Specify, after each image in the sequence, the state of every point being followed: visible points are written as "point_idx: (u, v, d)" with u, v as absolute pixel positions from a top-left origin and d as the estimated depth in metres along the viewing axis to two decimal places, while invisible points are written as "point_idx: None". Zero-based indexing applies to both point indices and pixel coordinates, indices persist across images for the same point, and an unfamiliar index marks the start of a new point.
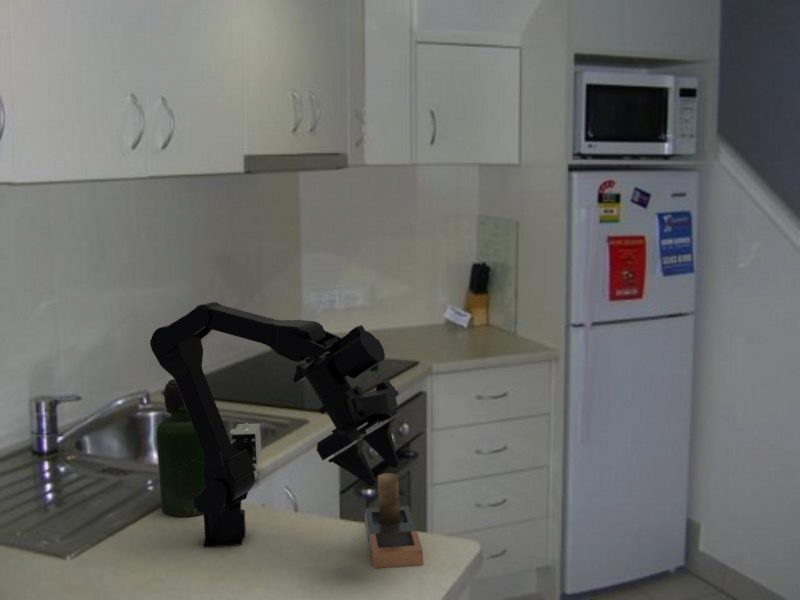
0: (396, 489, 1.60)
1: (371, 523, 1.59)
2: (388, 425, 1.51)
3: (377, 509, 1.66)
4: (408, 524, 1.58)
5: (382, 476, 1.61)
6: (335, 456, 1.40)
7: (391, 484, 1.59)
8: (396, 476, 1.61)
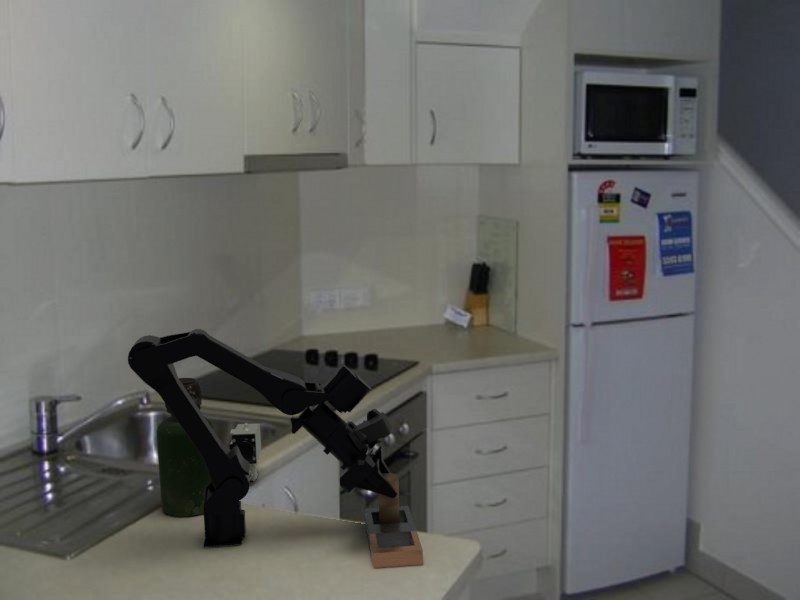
0: (396, 489, 1.60)
1: (371, 523, 1.59)
2: (380, 453, 1.63)
3: (377, 509, 1.66)
4: (408, 524, 1.58)
5: None
6: (360, 480, 1.55)
7: (391, 484, 1.59)
8: (396, 476, 1.61)
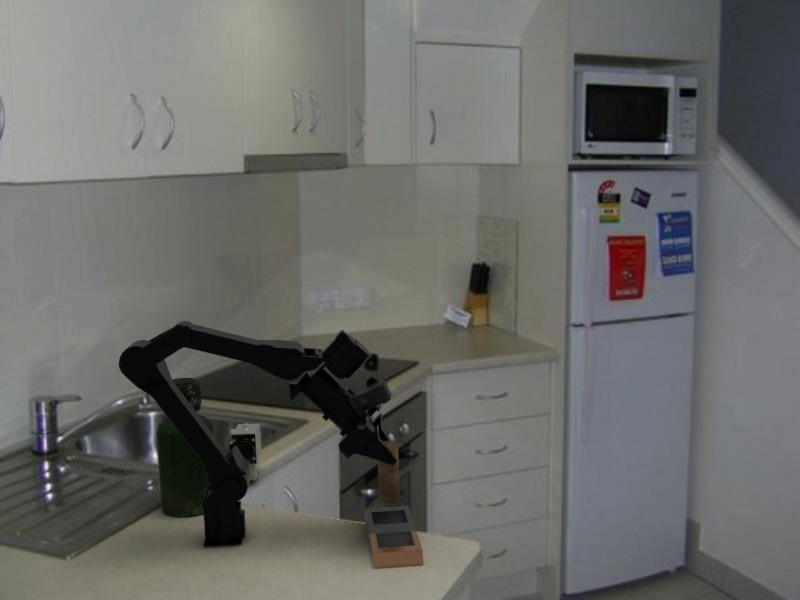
0: (396, 456, 1.58)
1: (371, 523, 1.59)
2: (380, 420, 1.60)
3: (377, 509, 1.66)
4: (408, 524, 1.58)
5: None
6: (359, 446, 1.53)
7: (391, 450, 1.57)
8: (395, 443, 1.58)
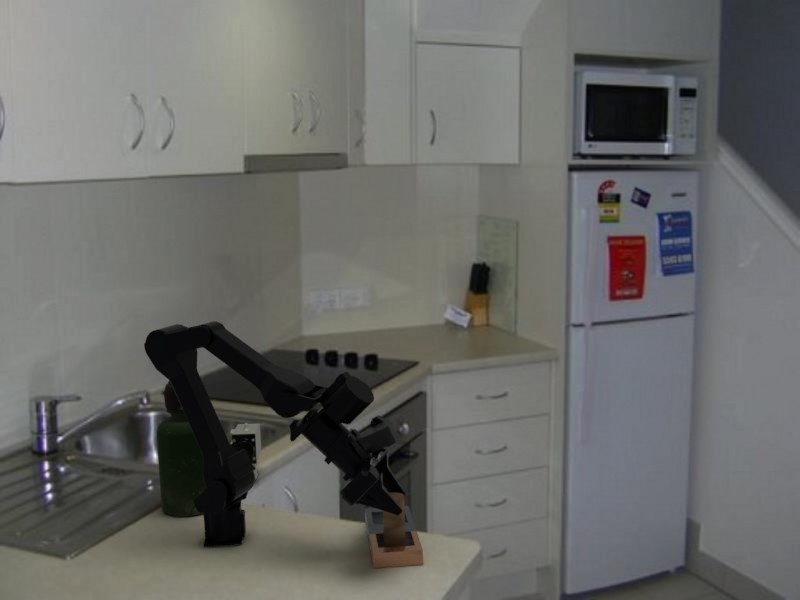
0: (402, 510, 1.50)
1: (371, 523, 1.59)
2: (386, 459, 1.54)
3: (377, 509, 1.66)
4: (408, 524, 1.58)
5: None
6: (362, 496, 1.44)
7: None
8: (401, 495, 1.51)
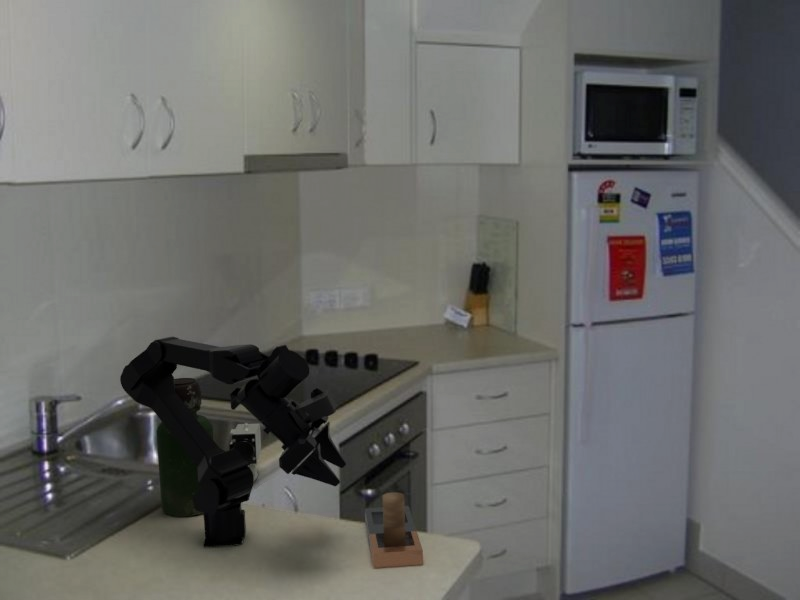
0: (402, 510, 1.50)
1: (371, 523, 1.59)
2: (327, 429, 1.56)
3: (377, 509, 1.66)
4: (408, 524, 1.58)
5: (387, 496, 1.51)
6: (299, 466, 1.43)
7: (397, 504, 1.49)
8: (401, 495, 1.51)
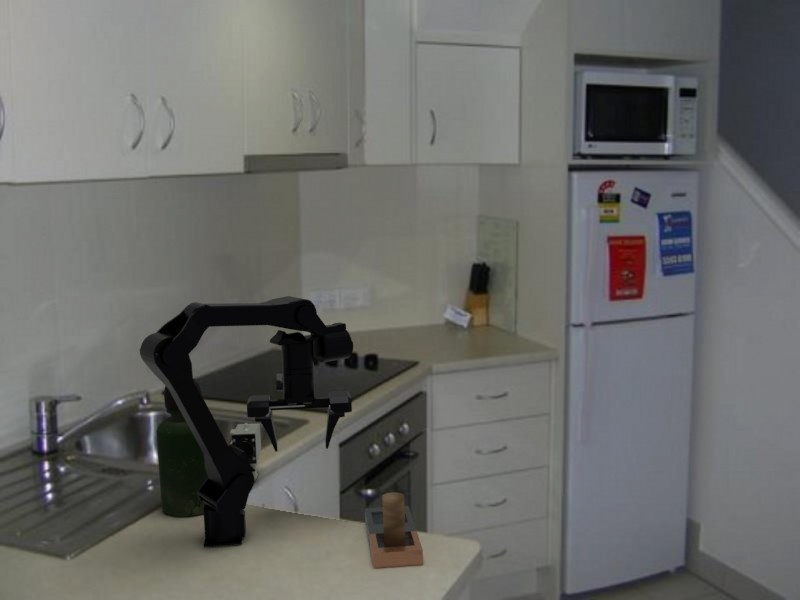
0: (402, 510, 1.50)
1: (371, 523, 1.59)
2: (272, 413, 1.69)
3: (377, 509, 1.66)
4: (408, 524, 1.58)
5: (387, 496, 1.51)
6: None
7: (397, 504, 1.49)
8: (401, 495, 1.51)
